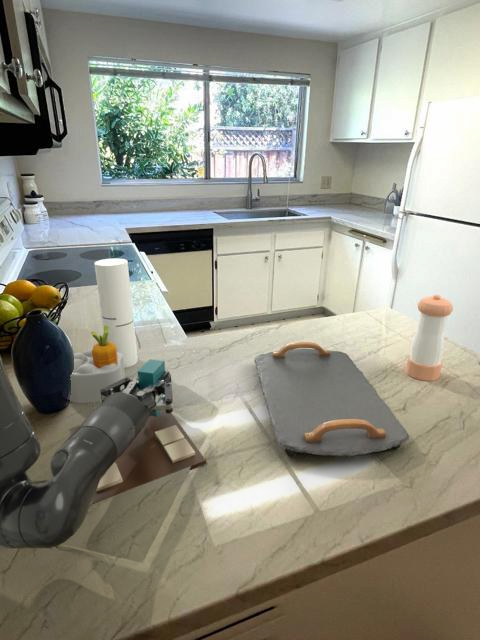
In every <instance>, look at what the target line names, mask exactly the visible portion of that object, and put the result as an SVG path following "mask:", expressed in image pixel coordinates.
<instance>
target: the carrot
mask: <svg viewBox="0 0 480 640" xmlns="http://www.w3.org/2000/svg"><path fill="white" fill-rule="evenodd" d="M108 329H109V327H108V326H107V325H104V331H103V333H102V334H99V335H98V334H97V333H96V332H95V331H93V330H92V331H90V334H91V335H92V337H93V338H94V339H95V341H96V342H97V343H96V344H93V346H92V348H93V349H92V357H93V362H94V365H95V366H96V367H98V368H101V367H103V366H105V365H110V364H113V363H115V364H117V349H116V345H115V344H114V343H111V342H108V341H107V338H108Z"/></svg>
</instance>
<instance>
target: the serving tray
mask: <svg viewBox="0 0 480 640" xmlns="http://www.w3.org/2000/svg"><path fill="white" fill-rule="evenodd" d="M254 365H255V366H256V367H255V369H256V371H257V374H258V376H257V377H258V378H259V384H260V388H261V390H262V394H263V396H264V400H265V403H266V408H267V411H268V415H269V418H270V422H271V425H272V429H273V432H274V436H275V440H276V443H277V444H278V446H279V447H280V448H282V449H284V452H285V454H286V456H287V457H288V458H294V457H295V456H296V455H297V453H305V454H310V455H316V456H317V455H319V456H344V457H351V456H361V455H368V454H372V453H377V452H383V451H386V450H391V451H394V452H395V451H398V450H399V449H400V448H401V446H402V445H403V444H404V443H406V442H407V441H408V440H409V439H410V436H409V434H408V432H407V430H406V429H405V427H404V426H403V425H402V423H401V422H400V420H399V419H398V418H397V417H396V416H395V414H394V413H393V411H392V410H391V408H390V406H389V405H388V404H387V403H386V402H385V401H384V399H382V398H381V397H380V396H379V394H378V392H377V390H376V389H375V387H374V386H373V384H372V383H370V381H369V379H367V378H366V376H365V374H364V372H363V371H362V370H360V369H359V367H357V365H356V364H355V363H354V361H353V359H351V357H350V355H348V354H347V353H346V352H344V351H338V350H330V349H324V348H323V347H322V346H321V345H320V344H318V343H316V342H312V341H311V342H310V341H297V342H291V343H287V344H285V345H283V346H282V347H281V348H280V349H278V350H275V351H270V352H266V353H261V354H258V355H256V356H254Z"/></svg>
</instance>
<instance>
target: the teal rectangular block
mask: <svg viewBox="0 0 480 640" xmlns="http://www.w3.org/2000/svg"><path fill="white" fill-rule="evenodd" d="M165 371H166V363H165V360H159V359H152V358H151V359H148V360H147V361H146V362H145V363H144V364H143V365H142V366H141V367H140V369H138V370H137V377H138V381H139V389H144V388H146V387H147V386H148V385H149V384H154V383H155V382H157V381H158V379H159V378H160V377H161V376H162V375H163V374H164V372H165ZM162 396H165V395H164V394H163V395H162ZM162 396H161V397H160V398H159V399H158V402H159V401H160V400H161V399H162ZM160 412H161V410H157V411H156V413H154V414H153V415H151V416H155V417H157V416H158V414H159V413H160Z"/></svg>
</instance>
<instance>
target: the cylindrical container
mask: <svg viewBox="0 0 480 640" xmlns="http://www.w3.org/2000/svg"><path fill="white" fill-rule="evenodd" d="M93 266H94V270H95V279H96V285H97V292H98V293H97V294H98V301H99V309H100V315H101V324H102V329H103V330H102V331H103V332H104V325H107V326H108V327H109V329H108V338H107V341H108V342H111V343H114V344H115V345H116V349H117V352H119V353H121V354H122V355H123V361H124V369H126V368H130V367H132V366H134V365H136V364H137V363H138V361H139V358H138V347H137V339H136V329H135V327H136V326H135V320H134V309H133V300H132V299H133V298H132V290H131V281H130V280H131V279H130V271H129V261H128V260H127V259H126V258H118V257H117V258H116V257H115V258H113V257H112V258H103V259H100V260H97V261H94V265H93Z"/></svg>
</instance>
